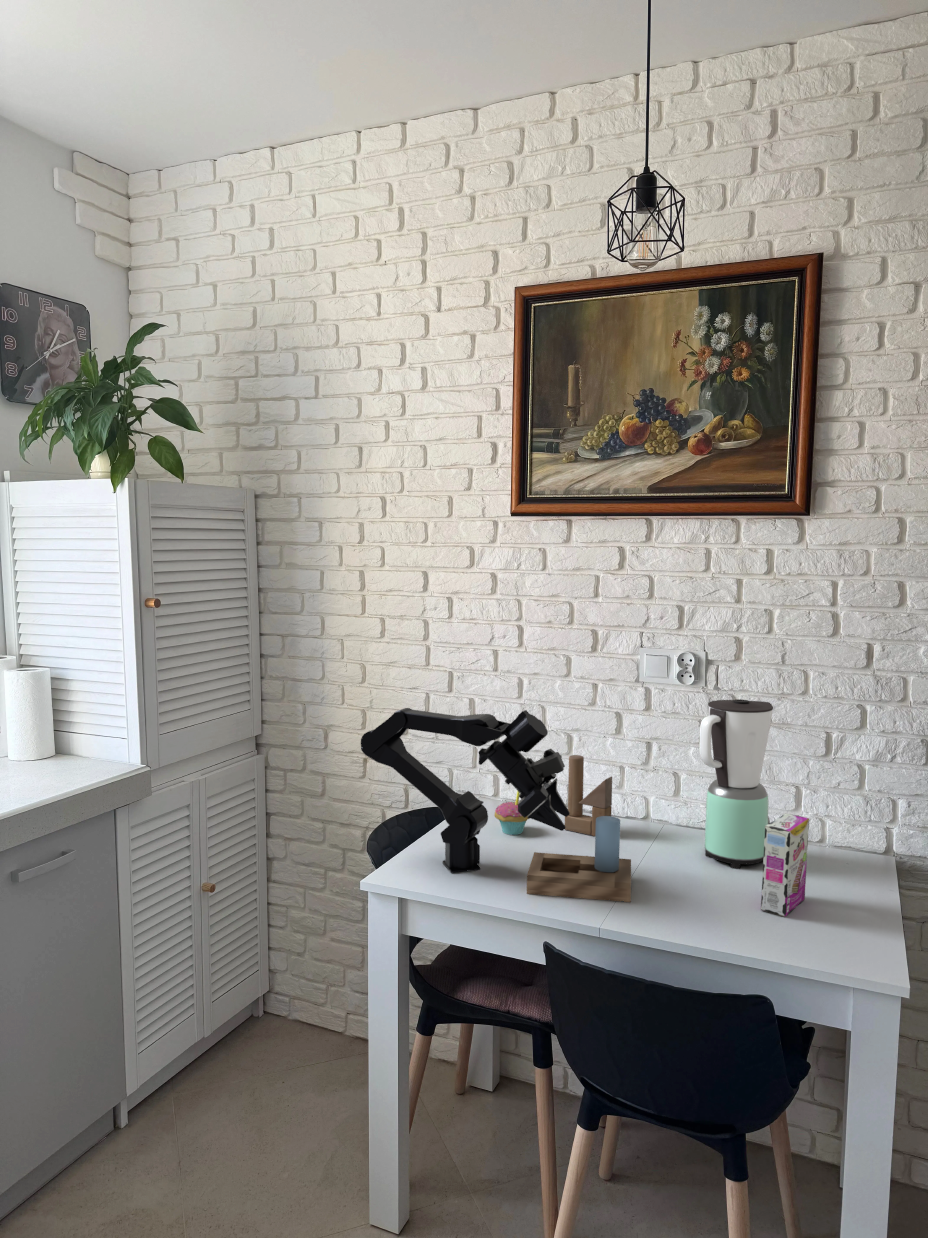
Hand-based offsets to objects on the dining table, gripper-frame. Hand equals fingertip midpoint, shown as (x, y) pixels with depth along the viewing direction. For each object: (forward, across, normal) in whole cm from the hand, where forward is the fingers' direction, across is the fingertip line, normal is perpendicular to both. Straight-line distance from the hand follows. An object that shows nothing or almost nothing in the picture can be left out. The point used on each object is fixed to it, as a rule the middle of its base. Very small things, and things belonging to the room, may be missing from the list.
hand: (566, 822), depth 177 cm
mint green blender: (+33, +20, -16) cm, 42 cm away
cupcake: (-2, +27, +19) cm, 33 cm away
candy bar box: (+38, -4, -21) cm, 44 cm away
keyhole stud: (+14, -2, +2) cm, 14 cm away
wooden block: (+10, +31, +7) cm, 33 cm away
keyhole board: (+11, -2, +6) cm, 13 cm away
